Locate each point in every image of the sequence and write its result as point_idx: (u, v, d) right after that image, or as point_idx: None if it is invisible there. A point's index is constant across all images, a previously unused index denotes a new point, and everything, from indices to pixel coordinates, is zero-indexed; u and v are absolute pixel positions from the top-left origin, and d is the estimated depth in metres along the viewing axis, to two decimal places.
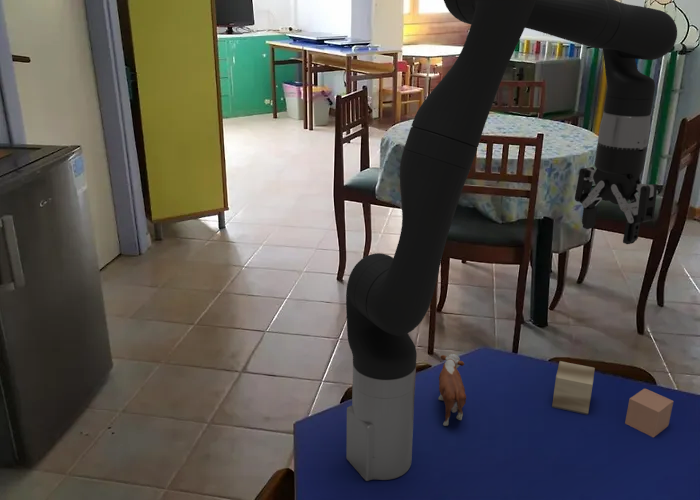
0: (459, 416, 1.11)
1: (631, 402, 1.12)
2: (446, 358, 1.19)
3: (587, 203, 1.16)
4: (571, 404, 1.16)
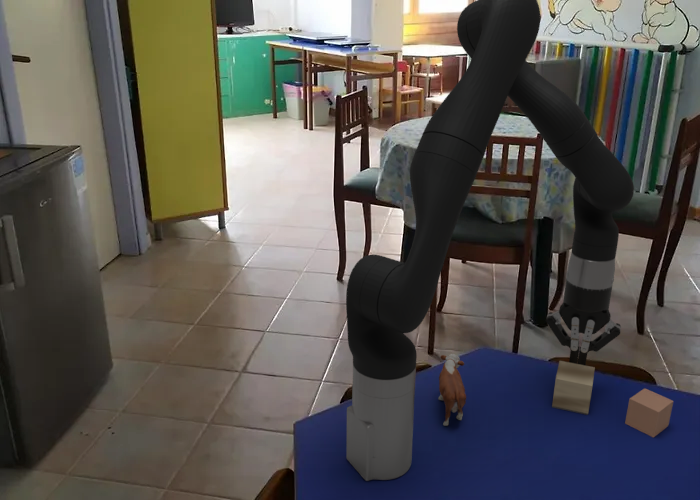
0: (459, 416, 1.11)
1: (631, 402, 1.12)
2: (446, 358, 1.19)
3: (582, 341, 1.20)
4: (571, 404, 1.16)
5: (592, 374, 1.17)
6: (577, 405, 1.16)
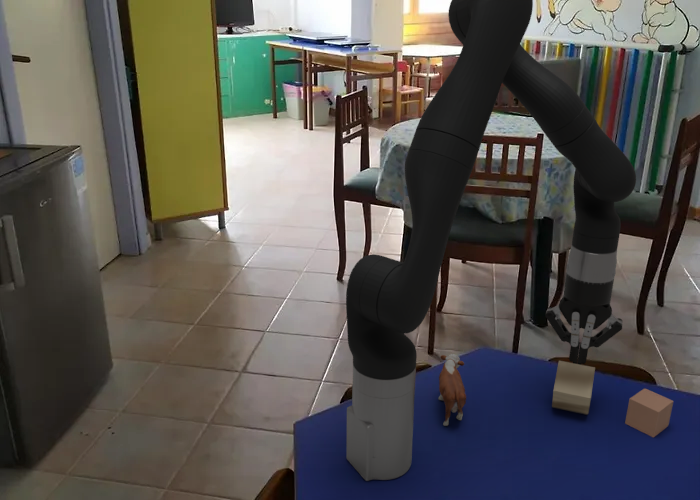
0: (459, 416, 1.11)
1: (631, 402, 1.12)
2: (446, 358, 1.19)
3: (582, 337, 1.17)
4: (570, 407, 1.16)
5: (591, 379, 1.14)
6: (577, 408, 1.15)
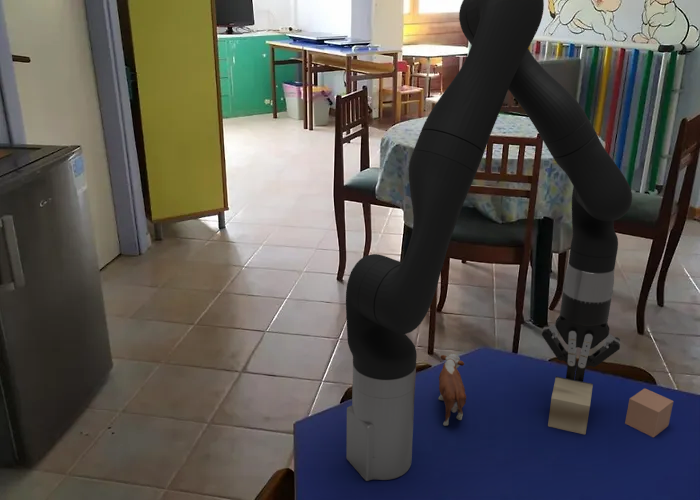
0: (459, 416, 1.11)
1: (631, 402, 1.12)
2: (446, 358, 1.19)
3: (579, 356, 1.15)
4: None
5: (586, 417, 1.09)
6: None
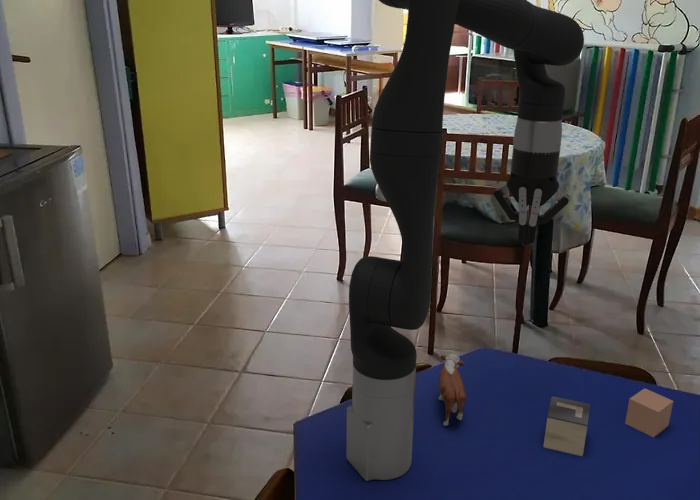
0: (459, 416, 1.11)
1: (631, 402, 1.12)
2: (446, 358, 1.19)
3: None
4: None
5: None
6: None
